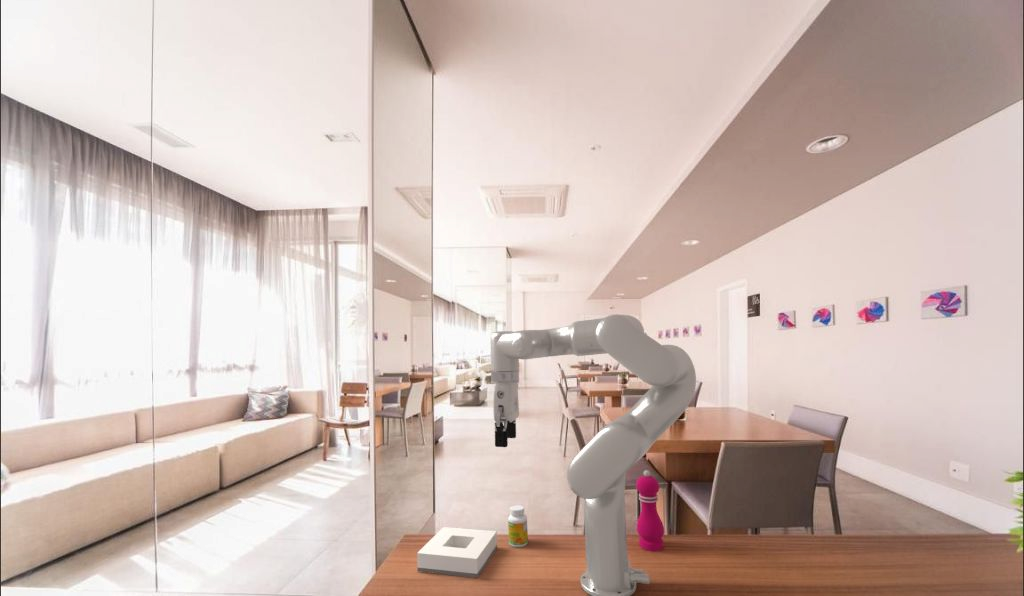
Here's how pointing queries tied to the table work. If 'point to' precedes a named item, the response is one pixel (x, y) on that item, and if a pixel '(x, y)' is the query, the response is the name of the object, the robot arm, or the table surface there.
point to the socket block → (458, 552)
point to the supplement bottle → (517, 527)
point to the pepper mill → (649, 514)
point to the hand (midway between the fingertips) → (505, 442)
